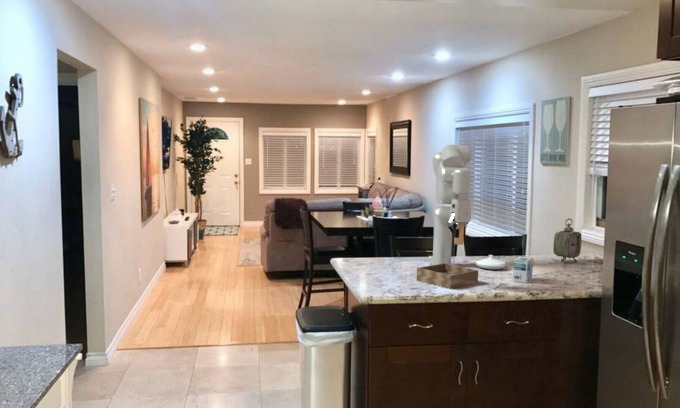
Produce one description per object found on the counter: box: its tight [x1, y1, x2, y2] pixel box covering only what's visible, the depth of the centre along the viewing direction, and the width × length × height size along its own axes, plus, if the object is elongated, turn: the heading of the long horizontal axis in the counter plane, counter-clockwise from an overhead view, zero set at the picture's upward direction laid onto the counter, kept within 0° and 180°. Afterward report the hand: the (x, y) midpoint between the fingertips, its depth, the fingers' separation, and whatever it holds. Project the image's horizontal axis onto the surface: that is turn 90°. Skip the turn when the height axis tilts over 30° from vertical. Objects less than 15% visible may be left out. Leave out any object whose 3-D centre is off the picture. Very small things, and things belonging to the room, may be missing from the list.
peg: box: [453, 221, 465, 246], centre depth 256 cm, size 4×4×10 cm
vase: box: [475, 254, 507, 271], centre depth 299 cm, size 16×16×7 cm
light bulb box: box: [512, 255, 534, 284], centre depth 272 cm, size 11×7×11 cm, turn 148°
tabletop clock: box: [553, 217, 582, 265], centre depth 319 cm, size 14×9×25 cm, turn 129°
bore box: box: [416, 263, 479, 290], centre depth 266 cm, size 20×20×6 cm
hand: (458, 236), depth 257 cm, fingers closed on peg, 4 cm apart
